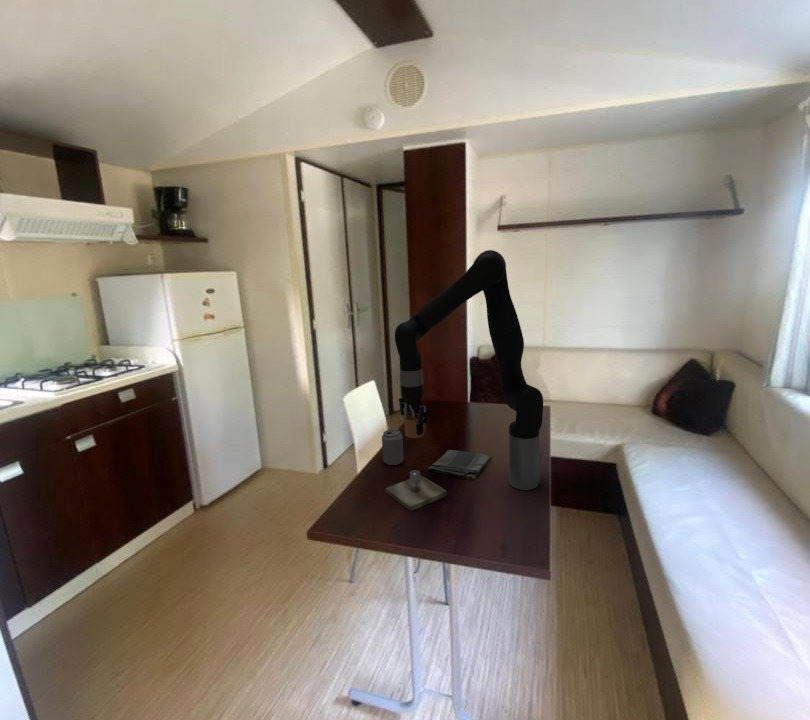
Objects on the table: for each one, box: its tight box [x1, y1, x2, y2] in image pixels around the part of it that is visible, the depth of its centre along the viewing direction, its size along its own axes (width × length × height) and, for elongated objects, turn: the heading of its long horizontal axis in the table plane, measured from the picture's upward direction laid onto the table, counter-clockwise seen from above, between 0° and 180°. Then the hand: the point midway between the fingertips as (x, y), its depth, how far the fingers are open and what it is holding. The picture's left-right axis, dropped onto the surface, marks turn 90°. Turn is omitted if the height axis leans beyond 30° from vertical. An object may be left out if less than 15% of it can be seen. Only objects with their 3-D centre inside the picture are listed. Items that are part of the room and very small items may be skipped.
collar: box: [403, 413, 425, 439], centre depth 141 cm, size 6×6×6 cm
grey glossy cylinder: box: [409, 469, 421, 492], centre depth 135 cm, size 3×3×6 cm
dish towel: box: [427, 449, 493, 481], centre depth 154 cm, size 19×18×3 cm
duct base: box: [385, 474, 448, 512], centre depth 136 cm, size 14×14×2 cm
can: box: [381, 428, 404, 466], centre depth 158 cm, size 8×8×12 cm
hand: (414, 431), depth 142 cm, fingers closed on collar, 6 cm apart
